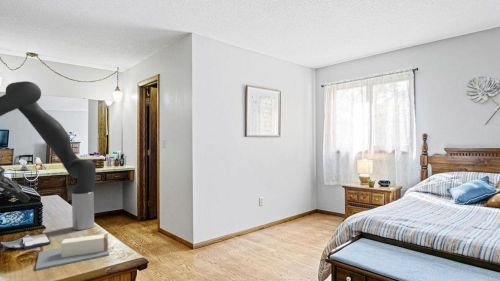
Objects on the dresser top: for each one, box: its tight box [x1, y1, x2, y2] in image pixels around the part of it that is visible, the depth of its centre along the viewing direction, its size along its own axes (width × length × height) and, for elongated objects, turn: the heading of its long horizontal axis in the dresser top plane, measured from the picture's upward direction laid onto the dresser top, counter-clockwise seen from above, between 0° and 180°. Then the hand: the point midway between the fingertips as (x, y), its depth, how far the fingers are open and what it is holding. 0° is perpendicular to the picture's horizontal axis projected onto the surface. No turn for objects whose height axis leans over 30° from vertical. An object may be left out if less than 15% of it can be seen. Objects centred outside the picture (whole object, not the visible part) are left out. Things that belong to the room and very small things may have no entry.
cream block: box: [60, 233, 109, 257], centre depth 111 cm, size 5×5×15 cm
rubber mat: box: [35, 247, 110, 271], centre depth 110 cm, size 17×22×1 cm
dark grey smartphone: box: [23, 233, 51, 250], centre depth 124 cm, size 9×2×16 cm
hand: (27, 200), depth 106 cm, fingers closed
